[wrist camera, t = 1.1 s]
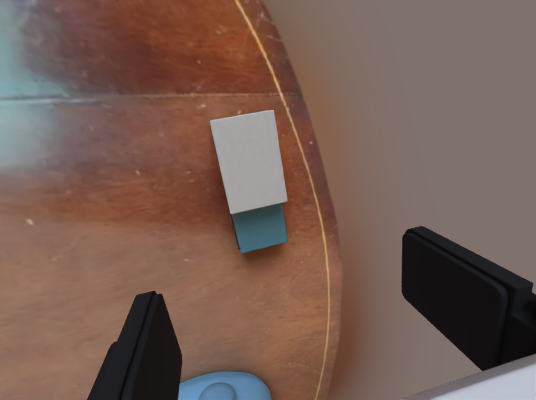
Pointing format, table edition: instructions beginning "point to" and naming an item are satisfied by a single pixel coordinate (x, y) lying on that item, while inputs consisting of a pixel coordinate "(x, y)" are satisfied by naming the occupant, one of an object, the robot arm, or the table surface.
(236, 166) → the two-tone stepped block
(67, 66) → the table surface
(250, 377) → the teapot
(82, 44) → the table surface
